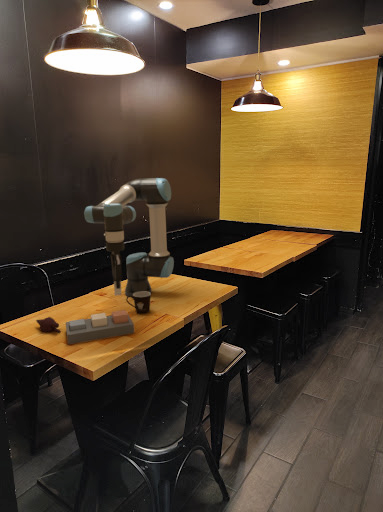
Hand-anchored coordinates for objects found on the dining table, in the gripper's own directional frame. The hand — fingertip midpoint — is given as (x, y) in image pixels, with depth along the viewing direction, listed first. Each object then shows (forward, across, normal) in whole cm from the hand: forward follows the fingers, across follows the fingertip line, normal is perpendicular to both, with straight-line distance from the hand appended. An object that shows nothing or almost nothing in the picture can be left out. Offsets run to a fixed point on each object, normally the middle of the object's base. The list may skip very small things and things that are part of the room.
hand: (118, 294), depth 159 cm
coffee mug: (+17, -17, +13) cm, 28 cm away
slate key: (+14, 0, -18) cm, 23 cm away
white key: (+13, 0, -9) cm, 15 cm away
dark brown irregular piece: (+17, -12, -30) cm, 36 cm away
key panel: (+17, 0, -9) cm, 19 cm away
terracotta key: (+13, 0, 0) cm, 13 cm away
